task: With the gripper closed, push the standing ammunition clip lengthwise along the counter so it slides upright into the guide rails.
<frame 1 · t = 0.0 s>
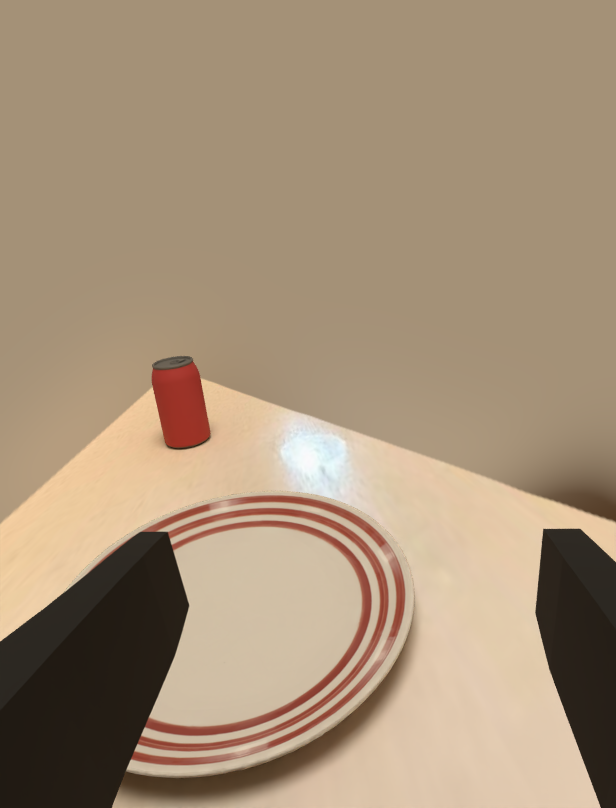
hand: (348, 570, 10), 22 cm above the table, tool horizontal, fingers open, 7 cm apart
dinner plate: (237, 618, 40), on the table
beer can: (188, 441, 74), on the table
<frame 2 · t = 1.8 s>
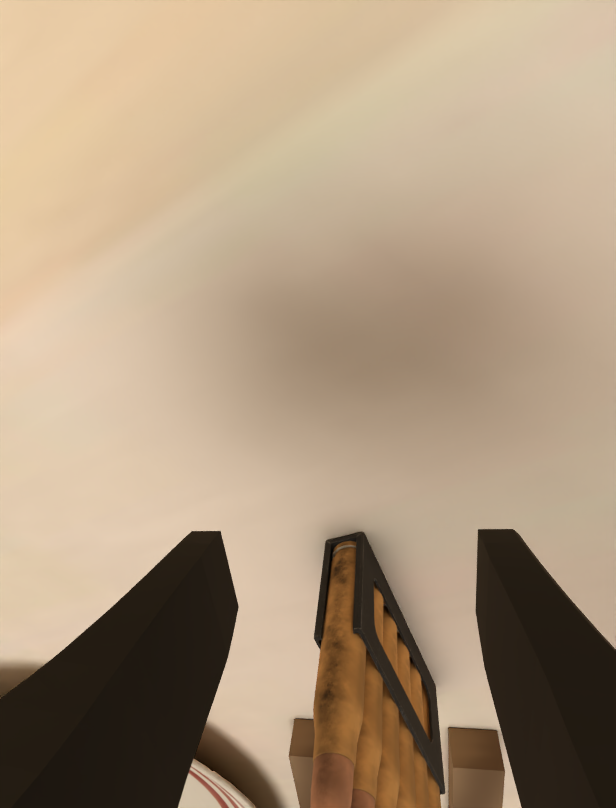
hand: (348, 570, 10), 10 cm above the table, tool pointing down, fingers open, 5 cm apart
ammunition clip: (384, 615, 25), on the table
guide rails: (398, 807, 31), on the table
dinner plate: (100, 789, 36), on the table
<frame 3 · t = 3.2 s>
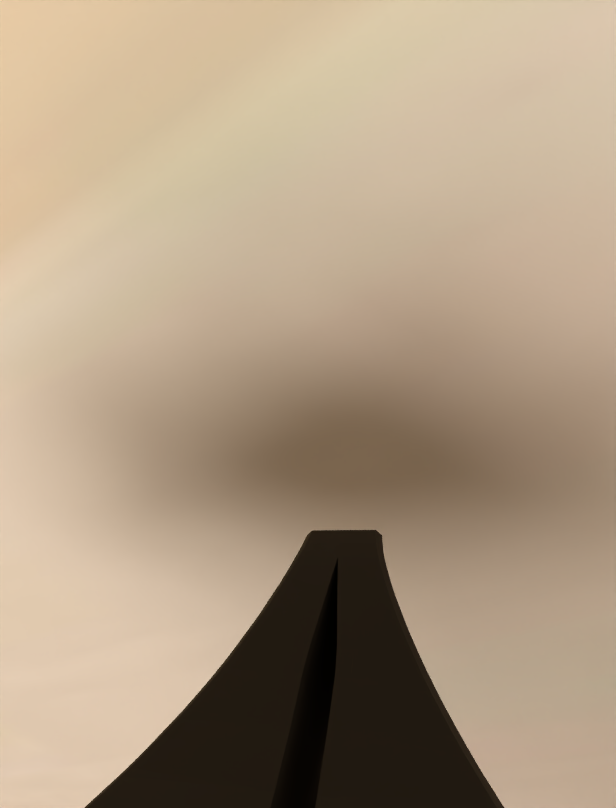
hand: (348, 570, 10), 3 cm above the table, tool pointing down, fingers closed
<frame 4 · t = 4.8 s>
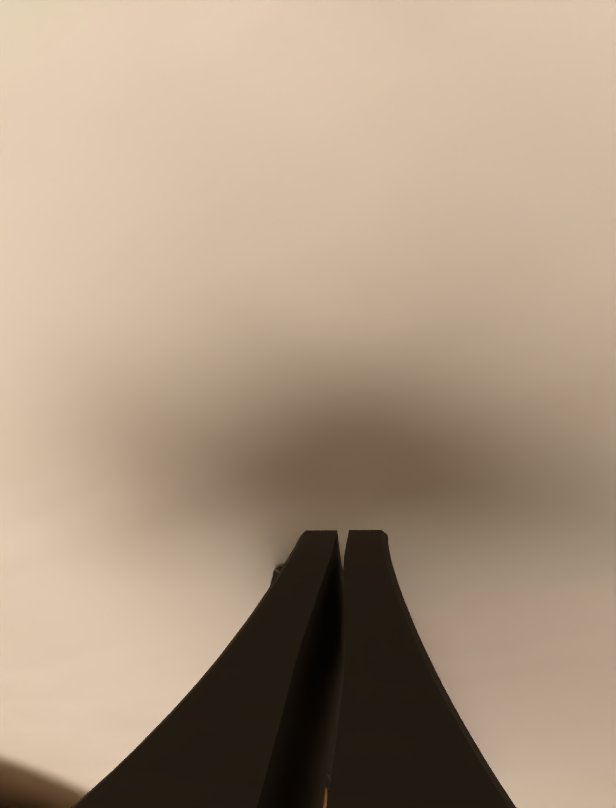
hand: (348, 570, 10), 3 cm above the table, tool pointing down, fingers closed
ammunition clip: (374, 681, 16), on the table, touching gripper
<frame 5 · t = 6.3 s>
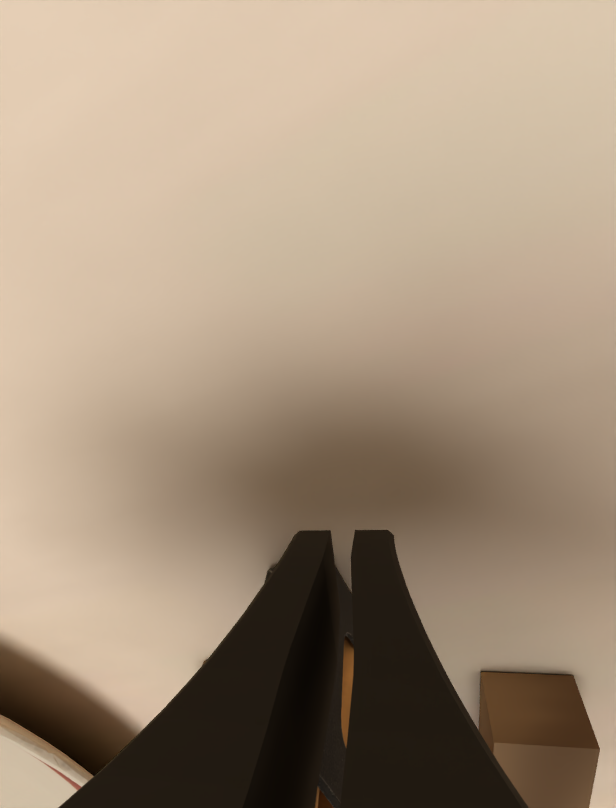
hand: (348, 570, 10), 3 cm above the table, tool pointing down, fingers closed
ammunition clip: (373, 680, 16), on the table, touching gripper
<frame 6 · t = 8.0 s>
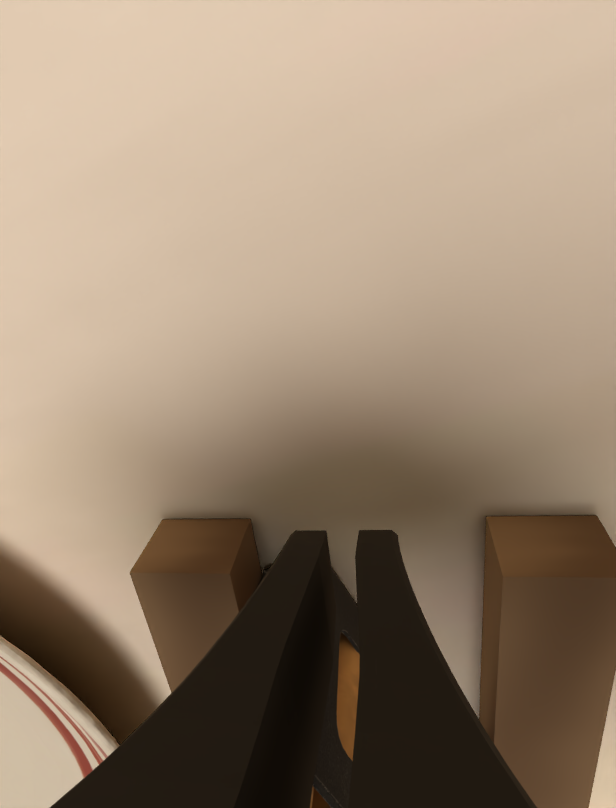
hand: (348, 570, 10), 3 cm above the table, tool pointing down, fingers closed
ammunition clip: (376, 677, 16), on the table, touching gripper
guide rails: (381, 718, 16), on the table
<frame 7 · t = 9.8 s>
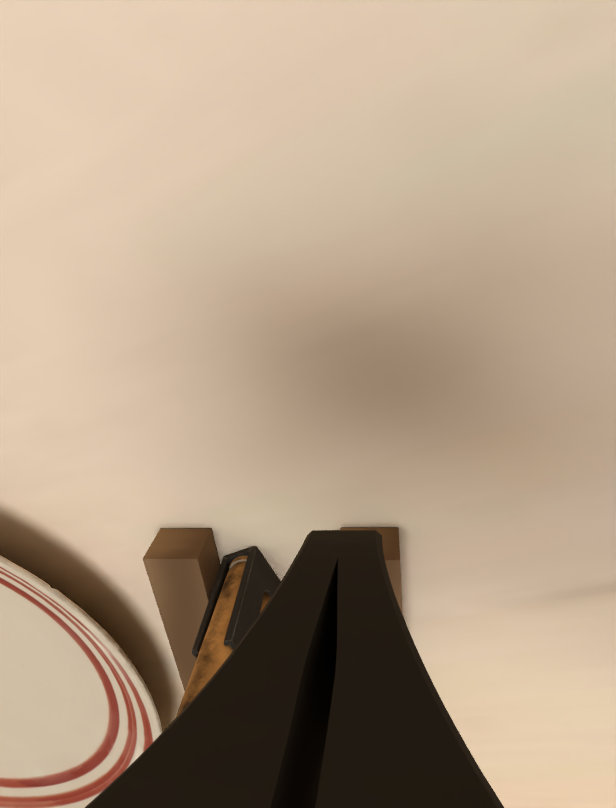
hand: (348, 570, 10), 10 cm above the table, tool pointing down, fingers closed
ammunition clip: (293, 623, 26), on the table
guide rails: (295, 651, 26), on the table
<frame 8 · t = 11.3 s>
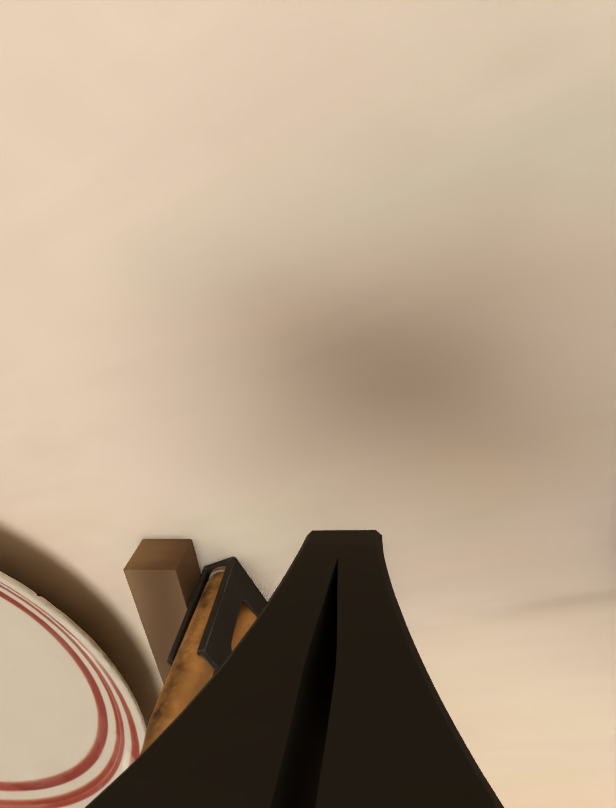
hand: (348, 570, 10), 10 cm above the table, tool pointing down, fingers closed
ammunition clip: (273, 632, 26), on the table
guide rails: (276, 659, 27), on the table
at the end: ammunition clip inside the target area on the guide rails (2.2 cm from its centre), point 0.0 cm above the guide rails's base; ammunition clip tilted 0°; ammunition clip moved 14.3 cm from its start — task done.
